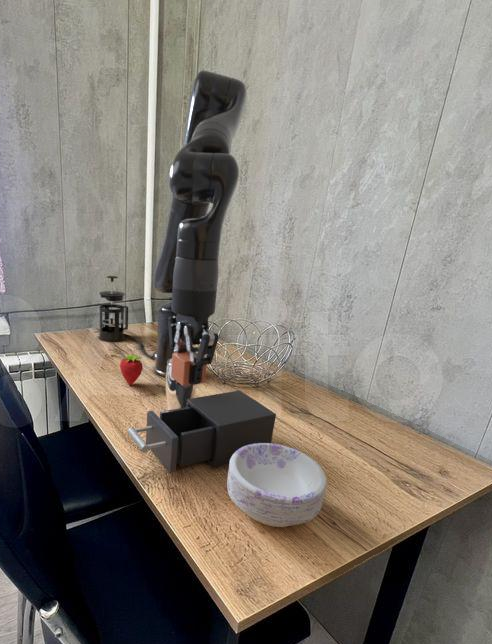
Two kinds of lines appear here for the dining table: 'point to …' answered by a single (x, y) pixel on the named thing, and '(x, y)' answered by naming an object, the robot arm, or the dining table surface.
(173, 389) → the beer glass
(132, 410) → the dining table surface
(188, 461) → the drawer
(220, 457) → the cabinet
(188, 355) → the block
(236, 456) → the paper bowls
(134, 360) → the strawberry
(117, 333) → the french press
